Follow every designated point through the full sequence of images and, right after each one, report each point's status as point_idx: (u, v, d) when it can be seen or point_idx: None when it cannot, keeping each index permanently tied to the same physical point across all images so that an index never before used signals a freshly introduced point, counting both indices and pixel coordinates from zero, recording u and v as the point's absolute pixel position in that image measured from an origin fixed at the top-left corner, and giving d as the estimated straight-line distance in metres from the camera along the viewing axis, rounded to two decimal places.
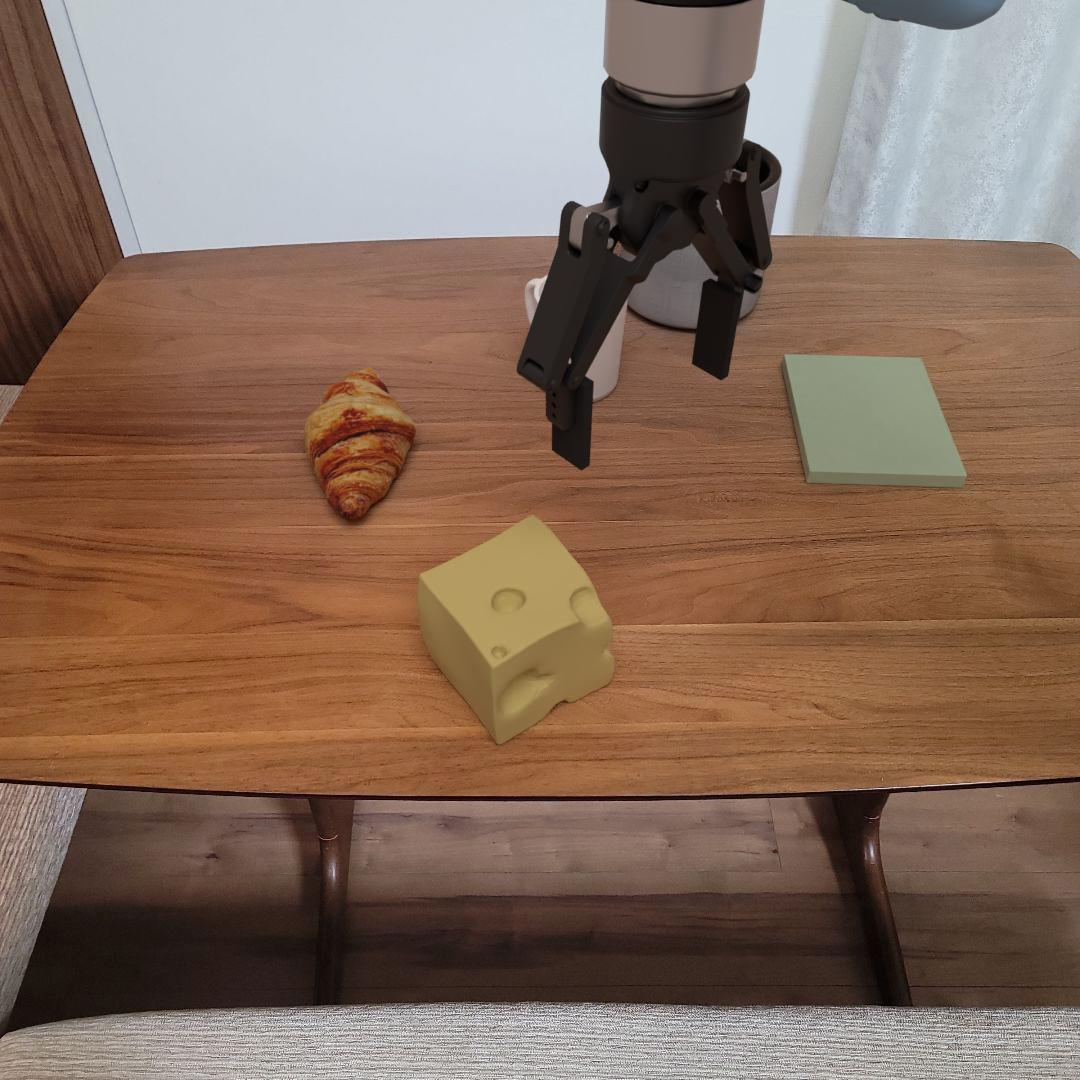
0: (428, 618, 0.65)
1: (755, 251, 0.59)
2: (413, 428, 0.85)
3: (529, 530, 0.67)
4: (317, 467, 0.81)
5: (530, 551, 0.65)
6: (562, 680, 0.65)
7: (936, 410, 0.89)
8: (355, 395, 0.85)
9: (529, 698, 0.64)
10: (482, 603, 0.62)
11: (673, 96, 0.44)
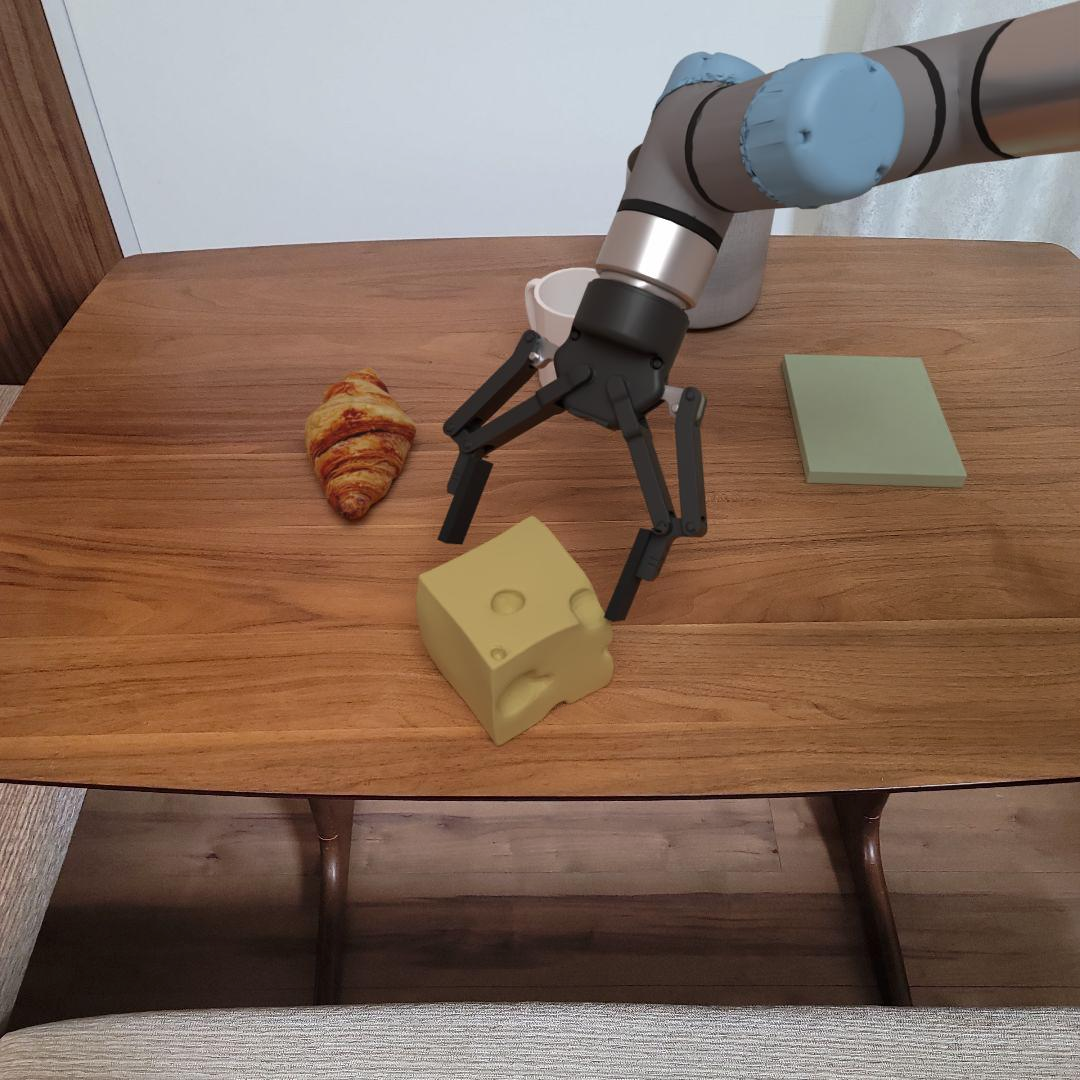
0: (427, 619, 0.65)
1: (680, 504, 0.61)
2: (413, 428, 0.85)
3: (528, 531, 0.66)
4: (317, 467, 0.81)
5: (530, 552, 0.65)
6: (561, 681, 0.65)
7: (936, 410, 0.89)
8: (355, 395, 0.85)
9: (529, 700, 0.64)
10: (482, 605, 0.62)
11: (597, 266, 0.62)
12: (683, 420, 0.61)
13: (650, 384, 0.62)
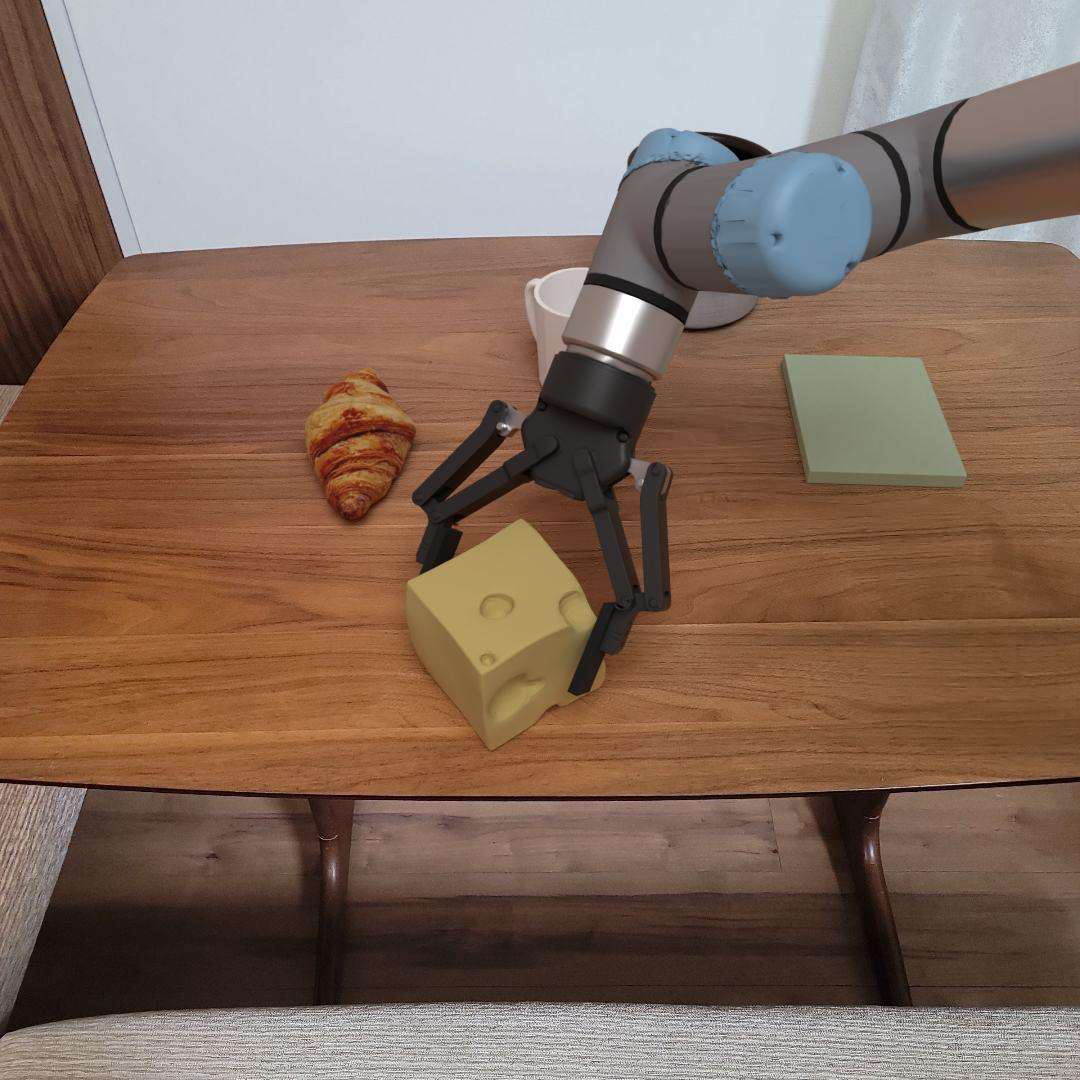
0: (416, 625, 0.64)
1: (644, 579, 0.61)
2: (413, 428, 0.85)
3: (517, 534, 0.66)
4: (317, 467, 0.81)
5: (518, 556, 0.65)
6: (553, 685, 0.65)
7: (936, 410, 0.89)
8: (355, 395, 0.85)
9: (520, 704, 0.64)
10: (471, 610, 0.62)
11: (563, 338, 0.62)
12: (648, 495, 0.61)
13: (616, 457, 0.62)
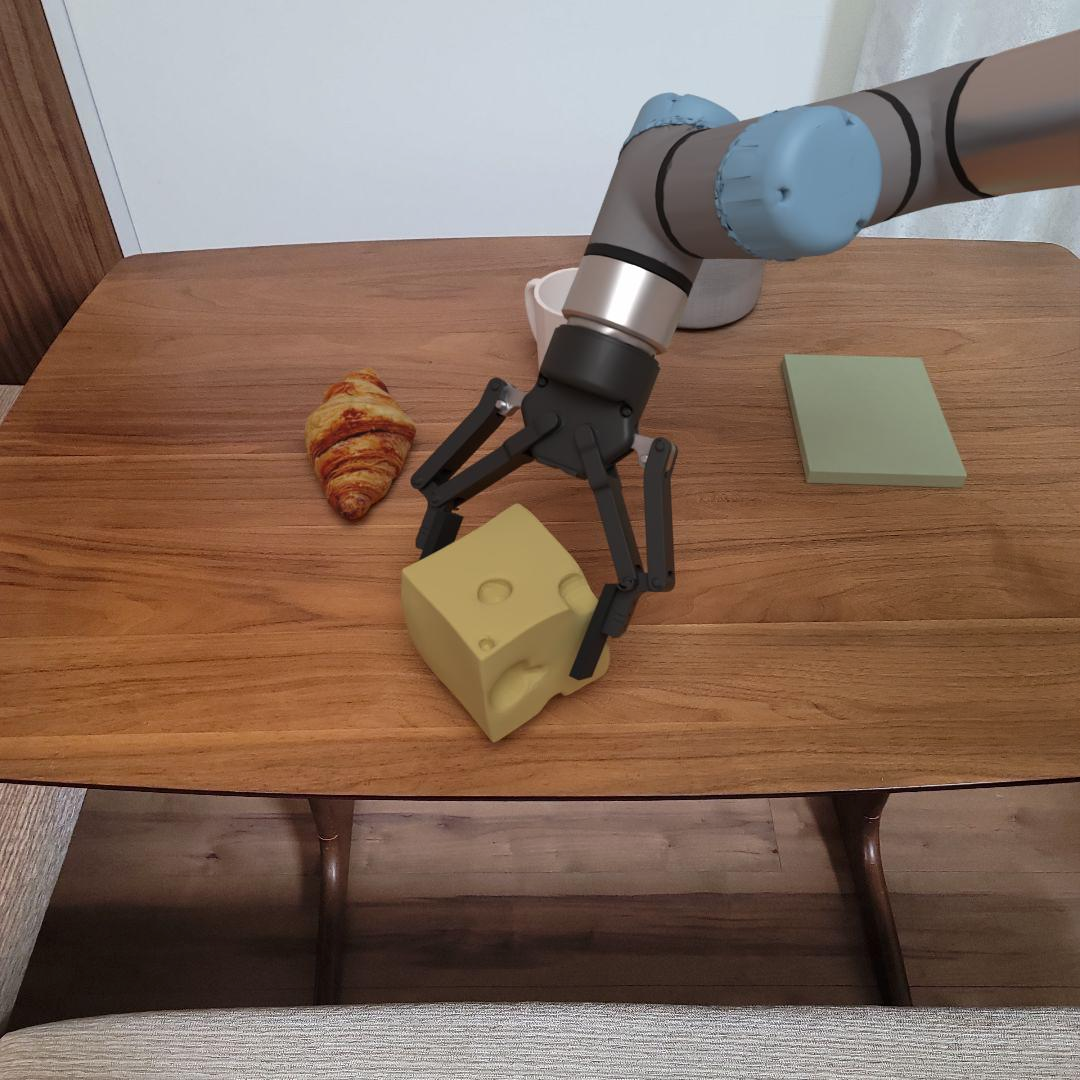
0: (413, 614, 0.63)
1: (647, 558, 0.59)
2: (413, 428, 0.85)
3: (513, 518, 0.64)
4: (317, 467, 0.81)
5: (516, 540, 0.63)
6: (555, 672, 0.63)
7: (936, 410, 0.89)
8: (355, 395, 0.85)
9: (522, 692, 0.62)
10: (468, 595, 0.60)
11: (564, 311, 0.60)
12: (652, 472, 0.59)
13: (619, 433, 0.60)
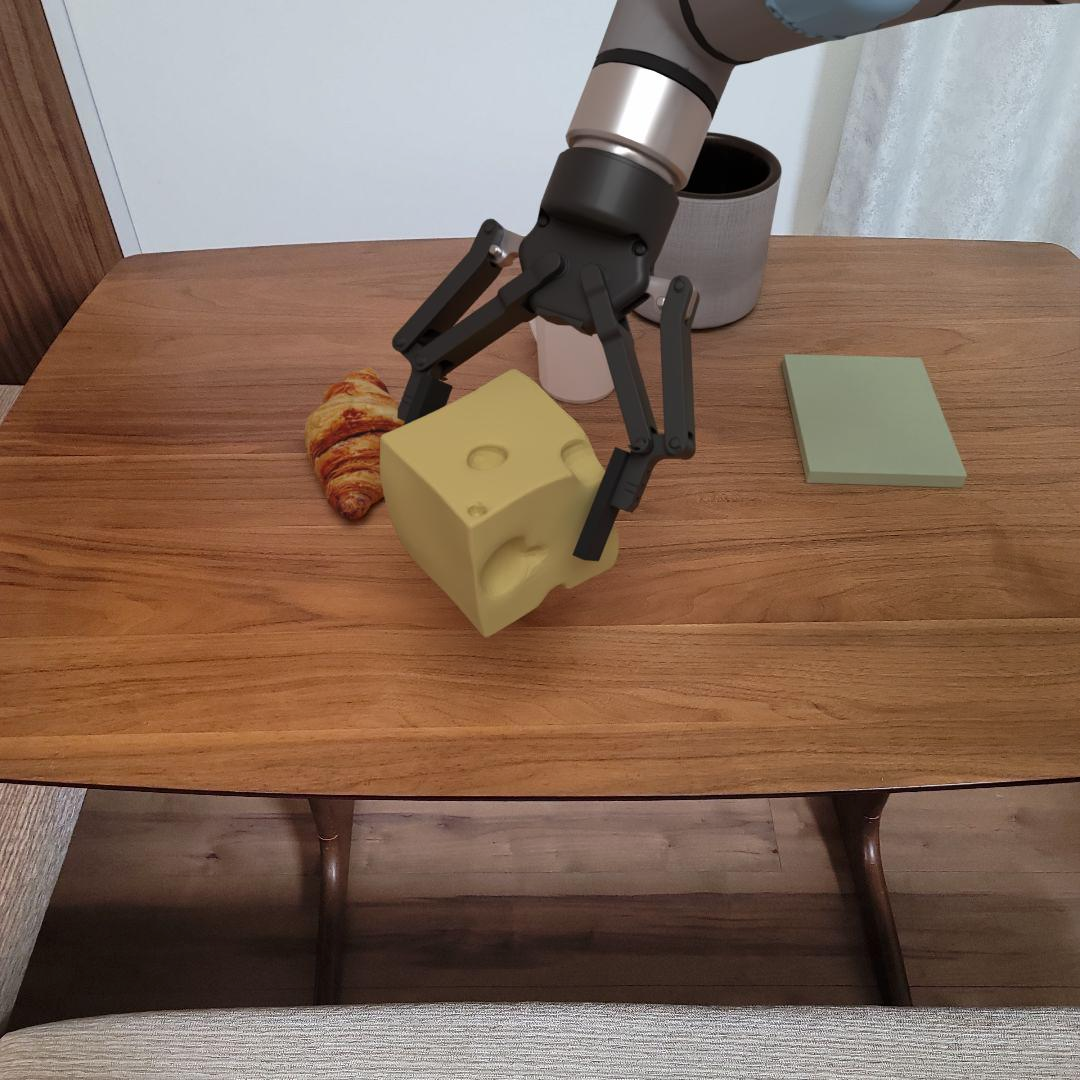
0: (393, 489, 0.54)
1: (664, 416, 0.51)
2: None
3: (510, 383, 0.56)
4: (317, 467, 0.81)
5: (512, 405, 0.55)
6: (557, 556, 0.55)
7: (936, 410, 0.89)
8: (355, 395, 0.85)
9: (519, 578, 0.54)
10: (456, 461, 0.52)
11: (568, 134, 0.52)
12: (670, 316, 0.51)
13: (632, 274, 0.52)
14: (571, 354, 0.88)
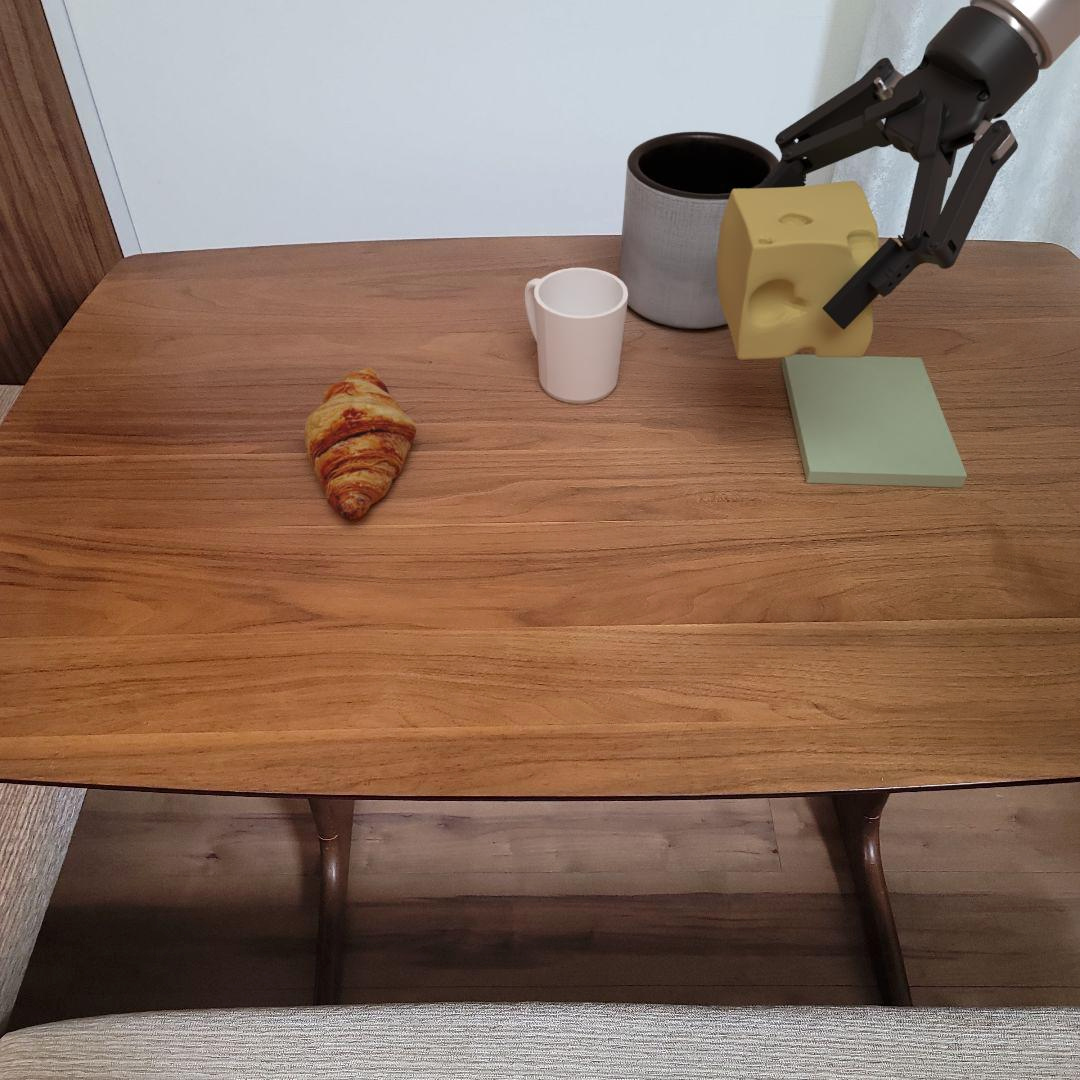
0: (724, 231, 0.74)
1: None
2: (413, 428, 0.85)
3: (844, 187, 0.72)
4: (317, 467, 0.81)
5: (835, 198, 0.71)
6: (815, 318, 0.70)
7: (936, 410, 0.89)
8: (355, 395, 0.85)
9: (779, 320, 0.71)
10: (772, 215, 0.69)
11: None
12: (979, 149, 0.63)
13: (968, 113, 0.64)
14: (571, 354, 0.88)
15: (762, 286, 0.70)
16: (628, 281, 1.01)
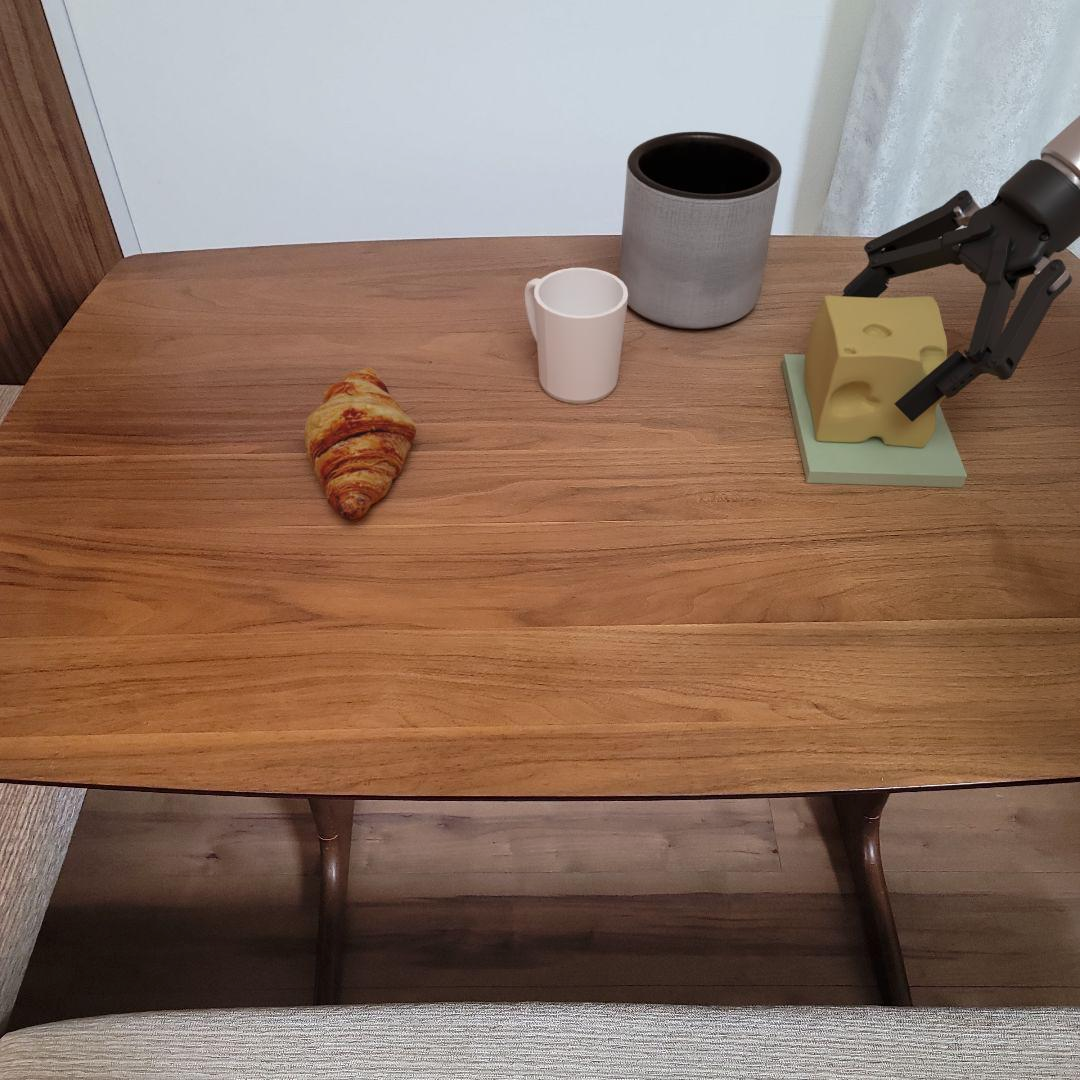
0: (815, 330, 0.86)
1: None
2: (413, 428, 0.85)
3: (922, 302, 0.84)
4: (317, 467, 0.81)
5: (913, 313, 0.83)
6: (886, 414, 0.83)
7: (936, 410, 0.89)
8: (355, 395, 0.85)
9: (855, 413, 0.83)
10: (857, 325, 0.82)
11: None
12: (1037, 282, 0.75)
13: (1030, 250, 0.76)
14: (571, 354, 0.88)
15: (843, 384, 0.83)
16: (628, 281, 1.01)
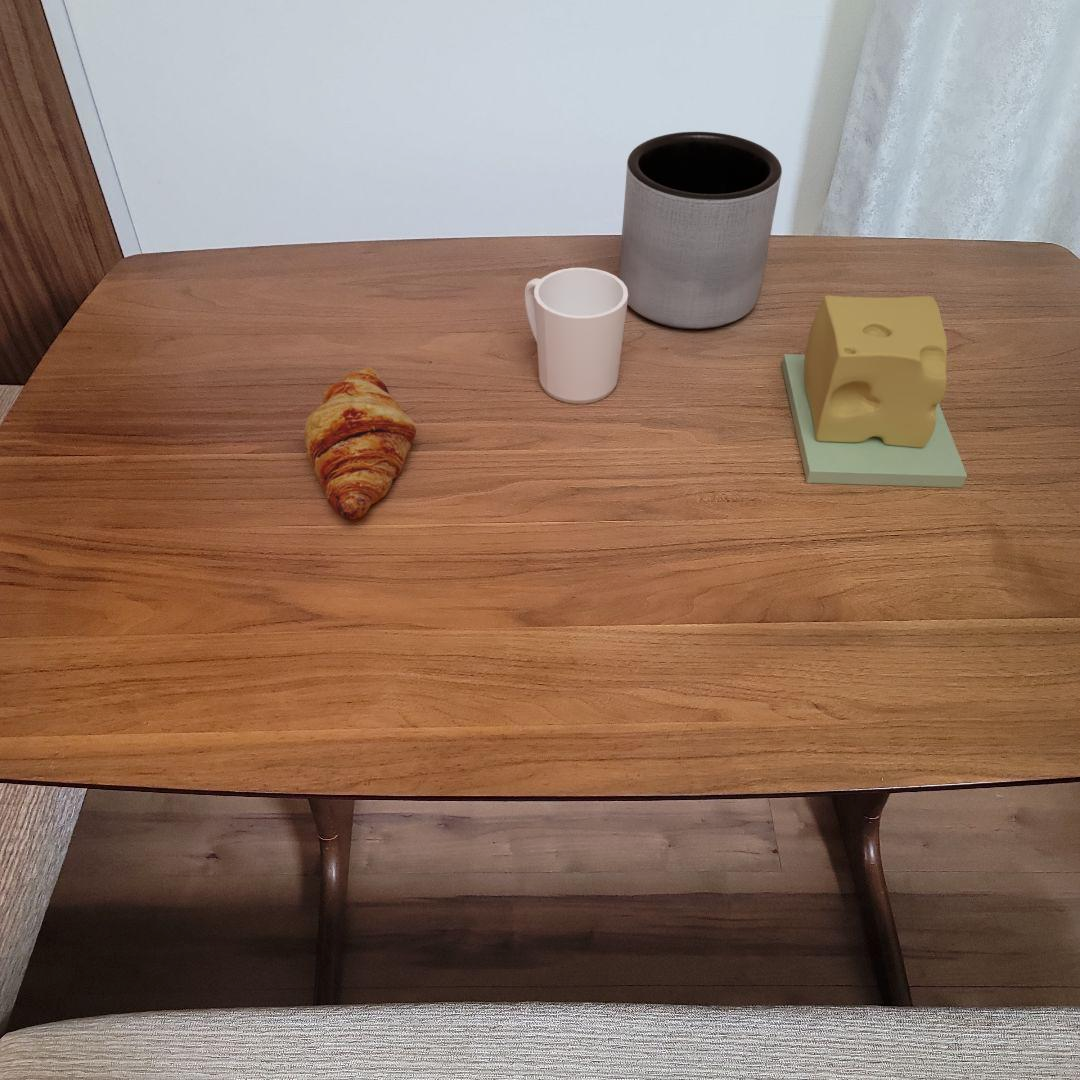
0: (815, 330, 0.86)
1: None
2: (413, 428, 0.85)
3: (922, 302, 0.84)
4: (317, 467, 0.81)
5: (913, 313, 0.83)
6: (886, 414, 0.83)
7: (936, 410, 0.89)
8: (355, 395, 0.85)
9: (855, 413, 0.83)
10: (857, 325, 0.82)
11: None
12: None
13: None
14: (571, 354, 0.88)
15: (843, 383, 0.83)
16: (628, 281, 1.01)
